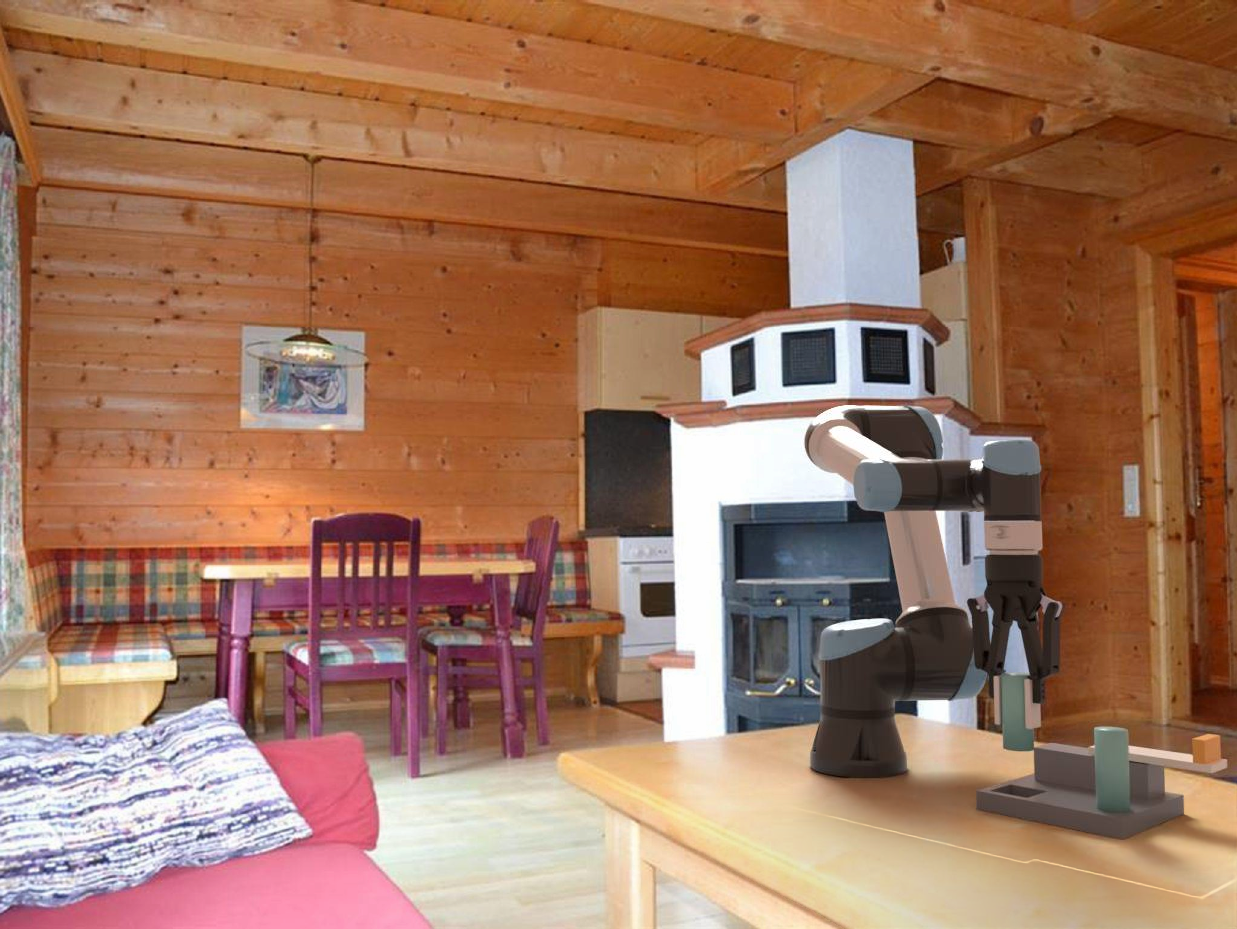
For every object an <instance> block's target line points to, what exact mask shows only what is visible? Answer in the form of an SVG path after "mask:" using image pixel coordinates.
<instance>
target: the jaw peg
mask: <svg viewBox="0 0 1237 929" xmlns="http://www.w3.org/2000/svg"><path fill="white" fill-rule="evenodd" d="M1027 676H1030V674H1029V672H1027V673H1025V672H1005V673H1002V674H1001V690H1002V724H1001V725H1002V726H1001V727H1002V748H1003V749H1004V750H1007V751H1010V752H1034V747H1035V736H1034V735H1035V734H1034V732H1035V731H1034V729H1035V728H1033V729H1027V728H1026V725H1025V686H1024V679H1028V678H1027Z"/></svg>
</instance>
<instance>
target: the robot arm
mask: <svg viewBox="0 0 1237 929" xmlns="http://www.w3.org/2000/svg"><path fill="white" fill-rule="evenodd" d="M941 429H942V428H941V427H940V424H939V420H938V419H937V418H936V416H935V415H934V413H933V412H931V410H928V408H926V407H922V406H915V405H914V406H913V405H912V406H911V405H907V404H901V405H895V406H894V405H849V404H848V405H842V406H836V407H833V408H831V409H827V410H826V411H824V412H823V413H820V414H819V415H818V416H817V417H816V418H814V419H813V420H812V422H811V423H810V424H809V425H808V427H807V429H806V431H805V434H804V442H803V443H804V449H805V453H806V456H807V457H808V459H809V460H810V462H812V464H814V465H815V467H817V468H819V469H820V470H822V471H824V472H826V473H829V474H830V473H831V474H837V475H838V476H840V477H841V478H843V479H844V480H846V481H847V482H848V483H850V484H851V485H853V496H854V497H855V500H856V503H857V505H858V507H859V508H860V509H861V510H864V511H873V512H880V513H883V514H884V519H885V524H886V529H887V534H888V539H889V546H890V549H891V550H890V551H891V557H892V561H893V566H894V572H895V577H896V582H897V587H898V594H899V599H900V600H899V601H900V605H901V610H902V613H901V614H900V616H898V618H896V621H895V625H894V621H893V620H891V619H889V618H877V617H876V618H870V619H868V618H865V619H856V620H855V619H854V620H848V621H847V620H846V621H843V622H838V623H835V624H831V625H829V626H826V627H825V628H824V629H823V630H822V632H821V634H820V640H819V641H820V642H819V651H818V652H819V653H818V660H819V685H820V686H819V687H820V689H819V692H820V694H819V696H820V719H819V723H818V726H817V730H816V733H815V736H814V739H813V743H812V747H811V750H810V752H809V756H810V757H809V764H810V768H811V769H812V770H813V771H817V772H819V773H822V774H826V775H830V776H837V777H845V778H859V779H860V778H862V779H863V778H864V779H869V778H872V779H875V778H889V777H895V776H899V775H902V774H904V773H906V772H907V771H908V757H907V756H908V755H907V752H906V751H905V749H904V744H903V741H902V738H901V735H900V732H899V729H898V726H897V722H896V713H895V712H896V711H895V709H896V702H901V701H902V702H904V701H905V702H906V701H907V702H909V701H911V702H912V701H913V702H914V701H915V702H916V701H917V702H918V701H948V702H952V701H953V702H954V701H955V700H966V699H973V698H975V697H976V696H978V694H980V692H981V691H982V690H983V689H984V686H985V684H986V681H987V679H988V695H989V698H990V699H993V700H994V701H993V703H994V704H993V707H994V708H993V710H994V711H993V712H994V725H997V726H999V725H1002V690H1001V674H1002V673H1007V670H1006V669H1005V663H1006V656H1007V649H1008V644H1009V637H1010V632H1011V627H1012V626H1013V624H1014V622H1016V624H1017V628H1018V629H1019V630H1020V633H1021V639H1022V644H1023V649H1024V655H1025V659H1026V663H1027V669H1028V674H1030V676H1027V678H1028V679H1024V686H1025V725H1026V728H1027V729H1033V728H1034V729H1037V728H1041V727H1042V721H1041V720H1042V719H1041V717H1042V715H1041V712H1042V711H1041V704H1045V703H1046V700H1047V693H1046V692H1047V689H1046V681H1047V678H1049V677H1051V676H1054V675H1055V676H1056V675H1058V674H1059V673H1060V671H1061V670H1060V669H1061V668H1060V667H1061V666H1060V665H1061V664H1060V663H1061V621H1062V620H1061V619H1062V616H1063V613H1064V610H1065V607H1066V604H1065V603H1064V601H1062V600H1060V601H1057V600H1054V599H1052V598H1050V597H1048V596H1047V594H1046V591H1045V590H1044V586H1043V581H1044V561H1043V560H1044V558H1043V556H1042V555H1041V554H1039V551H1041V550H1042V549H1043V527H1042V525H1043V524H1042V483H1041V482H1042V465H1041V459H1040V458H1041V457H1040V448H1039V446H1038V444H1037V443H1036V442H1035V441H1033V440H1029V439H1028V440H1027V439H1005V440H1004V439H1003V440H991V441H987V442H985V443H984V444H983V447H982V455H981V458H979V459H978V458H977V459H943V454H944V448H943V443H944V441H943V440H944V439H943V433H942V430H941ZM942 511H943V512H959V511H960V512H971V513H972V512H976V513H980V512H983V524H984V526H983V527H984V528H983V529H984V530H983V532H984V549H985V550H986V551H989V554H986V556H985V557H984V576H985V581H986V587H985V589H984V593H983V594H982V595H979V596H977V597H970V598H968V599H967V600H966V604H967V608H968V611H969V613H970V615H971V625H970V621H969V617H968V616H969V614H968V612H967V611H966V609H965V608H963V607H962V606H959V605H958V604H956V601H955V600H956V599H955V595H954V591H953V587H952V582H951V575H950V573H949V568H948V563H947V562H948V561H947V558H946V554H945V549H944V543H943V539H942V535H941V530H940V525H939V521H938V516H937V512H942ZM1041 607H1042V609H1041V611H1042V613H1043V619H1042V641H1041V638H1040V633H1039V625H1040V624H1039V618H1038V613H1039V610H1040V608H1041ZM989 608H991V610H992V611H993V613H992V620H991V624H992V630H991V631H992V632H990V618H989V613H988V609H989ZM1041 642H1042V644H1041ZM987 677H988V678H987Z"/></svg>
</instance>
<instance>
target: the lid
mask: <svg viewBox="0 0 1237 929" xmlns="http://www.w3.org/2000/svg"><path fill="white" fill-rule="evenodd" d="M1191 740H1192V743H1191V745H1192V746H1191V747H1192V748H1191V749H1192V754H1190V753H1184V752H1183V753H1182V752H1175V751H1169V750H1163V749H1162V750H1161V749H1155V748H1154V749H1153V748H1147V747H1141V746H1134V745H1129V761H1135V762H1141V763H1148V764H1154V765H1161V766H1164V767H1167V768H1175V769H1181V770H1188V771H1193V772H1201V773H1208V774H1213V773H1217V772H1219V771H1222V770H1224V769H1227V768H1228V760H1227V759H1223V758H1222V756H1221V755H1222V754H1221V752H1222V750H1221V735H1217V734H1212V733H1207V734H1203V735H1200V736H1197V737H1193V738H1192V739H1191ZM1087 748H1088V753H1089V755H1095V744H1093V745H1091V746H1088V747H1087Z"/></svg>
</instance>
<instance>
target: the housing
mask: <svg viewBox="0 0 1237 929" xmlns="http://www.w3.org/2000/svg"><path fill="white" fill-rule="evenodd" d="M1093 733H1094V734H1093V737H1094V738H1093V739H1094V745H1095V755H1089V753H1088V747H1082V746H1075V745H1068V744H1062V743H1055V742H1049V743H1045V744H1041V745H1037V746H1034V750H1033V766H1034V767H1033V770H1034V771H1033V773H1031V774H1027V775H1024V776H1020V777H1017V778H1014V779H1010V780H1007V781H1004V782H1000V783H996V784H994V785H991V786H988V787H984V788H980V789H977V790H976V792H975V796H976V798H975V799H976V803H975V804H976V810H979V811H984V812H988V813H993V814H998V815H1002V816H1008V817H1013V818H1017V819H1023V820H1028V821H1032V822H1037V823H1041V824H1046V825H1051V826H1056V827H1061V828H1065V829H1070V830H1075V831H1080V832H1084V833H1085V832H1086V833H1089V834H1095V835H1099V836H1104V837H1109V838H1115V839H1119V840H1125V839H1127V838H1129V837H1132V836H1134V835H1137V834H1139V833H1141V832H1144V831H1147V830H1149V829H1152V828H1154V827H1156V826H1159V825H1161V824H1163V823H1165V822H1168V821H1170V820H1173V819H1176V818H1177V817H1180V816H1183V815H1185V801H1184V800H1185V798H1184V794H1179V793H1174V792H1168V791H1166V788H1165V787H1166V782H1165V781H1166V780H1165V766H1161V765H1154V764H1148V763H1141V762H1135V761H1129V746H1130V745H1129V743H1130V742H1129V730H1128V729H1126V728H1122V727H1116V726H1097V727H1094V729H1093Z"/></svg>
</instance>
